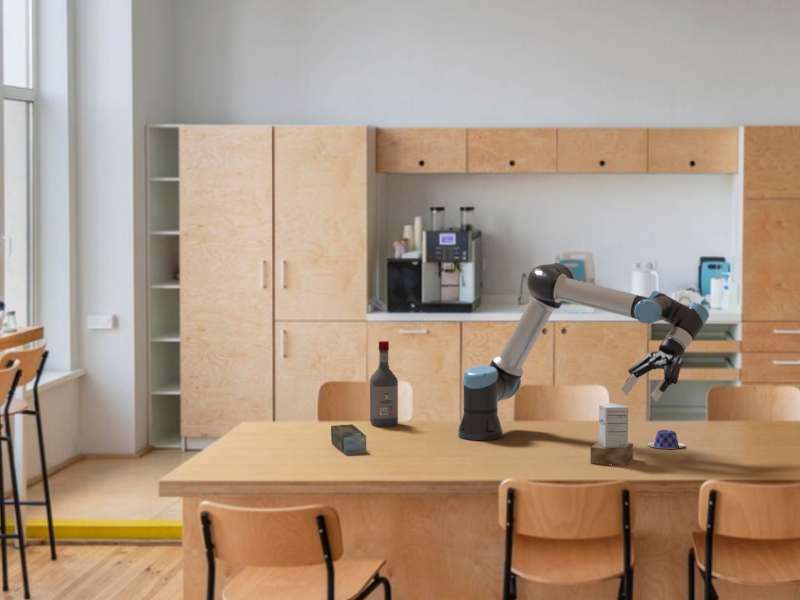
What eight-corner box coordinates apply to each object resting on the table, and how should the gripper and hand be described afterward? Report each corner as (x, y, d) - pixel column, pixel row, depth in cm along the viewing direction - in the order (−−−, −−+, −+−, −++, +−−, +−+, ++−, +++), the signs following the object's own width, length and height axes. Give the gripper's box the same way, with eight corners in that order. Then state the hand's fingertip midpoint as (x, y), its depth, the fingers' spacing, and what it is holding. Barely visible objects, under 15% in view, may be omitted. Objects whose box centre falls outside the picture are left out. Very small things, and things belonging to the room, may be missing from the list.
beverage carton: (342, 454, 392) (342, 434, 391) (330, 443, 410) (330, 424, 410) (366, 453, 394) (366, 433, 393) (353, 442, 412) (353, 422, 412)
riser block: (590, 463, 377) (590, 447, 377) (597, 456, 388) (598, 440, 387) (626, 466, 373) (626, 450, 373) (632, 459, 384) (633, 443, 383)
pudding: (671, 452, 396) (672, 436, 395) (640, 447, 404) (640, 431, 404) (692, 446, 404) (692, 431, 404) (660, 441, 412) (660, 426, 412)
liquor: (398, 425, 440) (398, 342, 438) (373, 427, 438) (373, 343, 436) (393, 421, 449) (393, 339, 447) (369, 422, 447) (368, 340, 445)
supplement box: (597, 443, 383) (598, 403, 382) (621, 442, 384) (621, 402, 383) (604, 448, 376) (605, 407, 375) (628, 447, 377) (628, 406, 376)
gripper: (709, 356, 382) (672, 408, 375) (654, 348, 403) (618, 397, 396) (697, 340, 378) (659, 392, 372) (642, 333, 400) (605, 382, 393)
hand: (638, 395), depth 384 cm, fingers open, 13 cm apart
